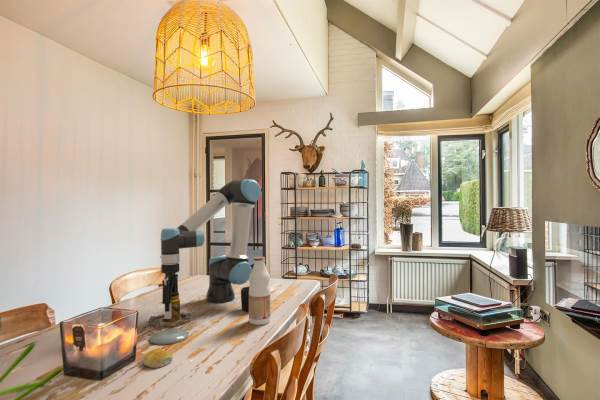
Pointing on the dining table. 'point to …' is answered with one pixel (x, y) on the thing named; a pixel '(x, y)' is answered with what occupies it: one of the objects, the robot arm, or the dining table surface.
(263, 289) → the fruit juice
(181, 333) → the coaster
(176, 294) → the condiment
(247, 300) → the pen holder
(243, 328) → the dining table surface
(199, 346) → the dining table surface
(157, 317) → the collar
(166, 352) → the mossy stone
